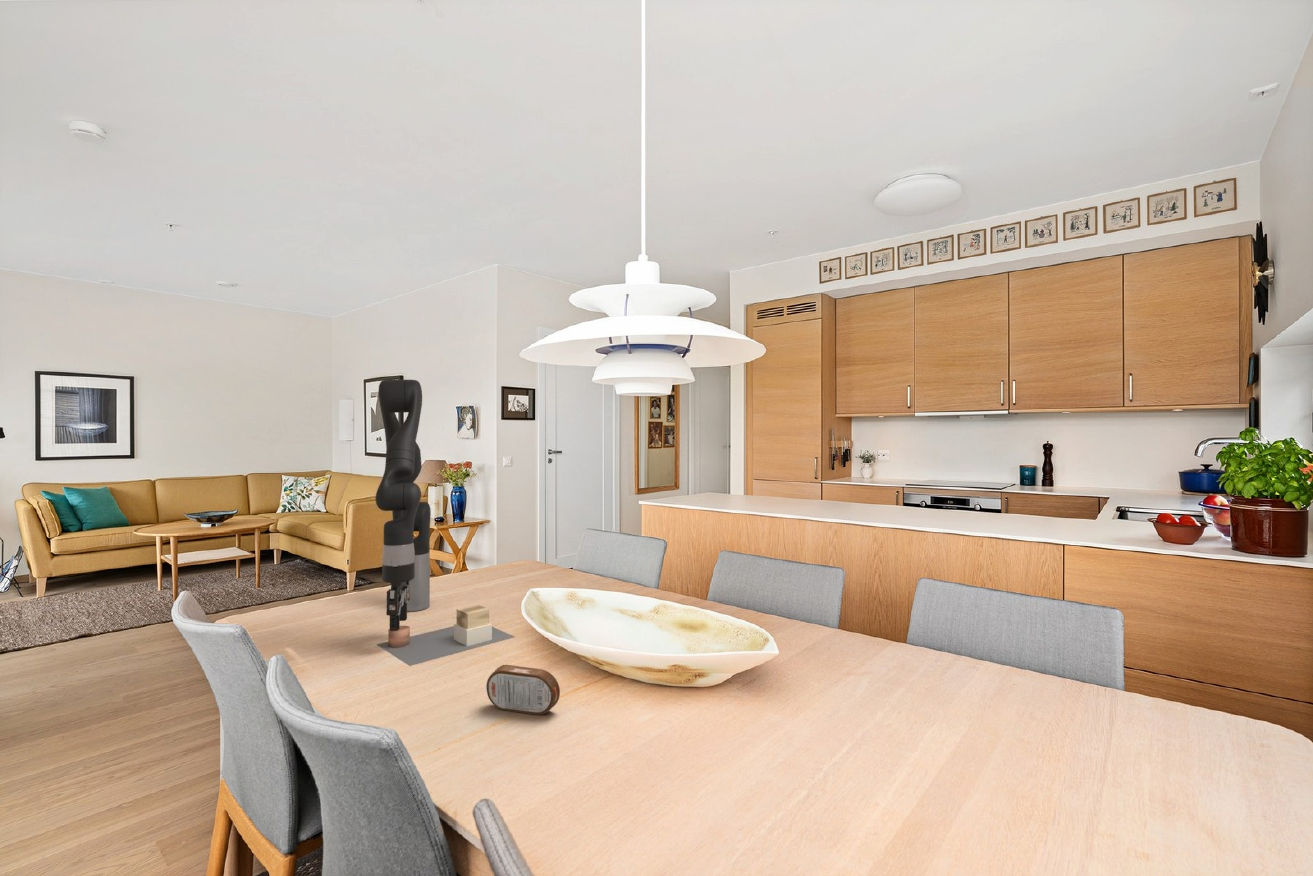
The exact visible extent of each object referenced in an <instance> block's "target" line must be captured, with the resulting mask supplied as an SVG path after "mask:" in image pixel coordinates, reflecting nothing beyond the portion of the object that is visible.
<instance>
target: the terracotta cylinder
mask: <svg viewBox="0 0 1313 876" xmlns="http://www.w3.org/2000/svg"><path fill="white" fill-rule="evenodd" d="M410 630H411V628H410V626H408V625H400V629H399V630H398V631H390V628H389V629H388V632H387V633H388V637H387V642H388V646H389V647H391V648H400V647H405V646H407V645H409V644H410V636H411V631H410Z"/></svg>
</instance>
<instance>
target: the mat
mask: <svg viewBox="0 0 1313 876" xmlns="http://www.w3.org/2000/svg"><path fill="white" fill-rule="evenodd" d="M513 638H516V636H515V635H513V634H510V633H508V632H506V631H503V630H501V629H498V628H496V627H494V626H492V640H489V641H485V642H481V643H478V644H474V645H470V646H465V645H463V644H461V643H459V642H457V641H455V640H454V625H453V626H448V627H444V628H441V629H440V628H439V629H436V630H433V631H428V632H424V633H423V632H422V633H419V634H416V635H410V644H409V645H407V646H405V647H400V648H391V647H389V646H388V641H386V642H381V643H377V644H376V645H377V646H378V647H380V648H381V649H383V650H384V651H386V652H387V653H389V654H390V655H392V656H393V657H395V658H397V659H399V660H400V661H402V662H403V663H404V664H406V665H408V666H409V667H411V666H414V665H419V664H422V663H425V662H430V661H434V660H438V659H441V658H445V657H448V656H452V655H455V654H459V653H462V652H466V651H470V650H473V649H476V648H482V647H484V646H487V645H491V644H496V643H499V642H503V641H506V640H510V639H513Z"/></svg>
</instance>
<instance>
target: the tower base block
mask: <svg viewBox="0 0 1313 876" xmlns="http://www.w3.org/2000/svg"><path fill="white" fill-rule="evenodd" d="M453 626H454V640H455V641H457V642H459V643H461V644H463V645H465V646H470V645H474V644H478V643H481V642H485V641H489V640H492V627H493V624H492V623H491V622H489V624H488V625H484V626H480V627H476V628H472V629H465V628H463V627H461V626H459V625H457V623H454V624H453Z"/></svg>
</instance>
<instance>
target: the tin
mask: <svg viewBox="0 0 1313 876" xmlns="http://www.w3.org/2000/svg"><path fill="white" fill-rule="evenodd" d="M486 693H487V698H488V699H489V701H490V703H491V704H493V706H495V707H496V708H498V709H500V710H501V711H507V712H514V713H515V712H516V713H522V714H528V715H534V716H535V715H536V716H542V715H545V714H547V713H548V712H549V711H551V710H552V708H554V707H555V706H556V704H558V701H559V699H560V696H561V695H560V694H561V688H560V685H559V683H558V681H557V679H556V678H555V676H554V675H553V674H552V673H551V672H549V671H547V670H545V669H542V668H536V667H527V666H521V665H520V666H519V665H512V664H504V665H500V666H498V667H497V668H495V670H494V671H493V672H492V673H491V674H490V675H489V677H488V678H487V680H486Z"/></svg>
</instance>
